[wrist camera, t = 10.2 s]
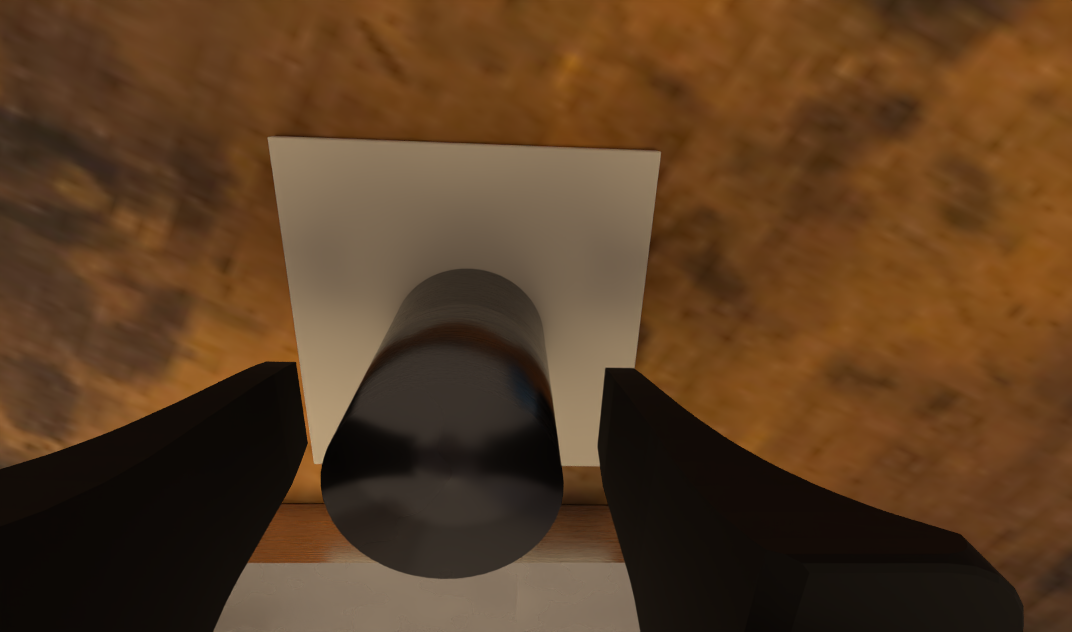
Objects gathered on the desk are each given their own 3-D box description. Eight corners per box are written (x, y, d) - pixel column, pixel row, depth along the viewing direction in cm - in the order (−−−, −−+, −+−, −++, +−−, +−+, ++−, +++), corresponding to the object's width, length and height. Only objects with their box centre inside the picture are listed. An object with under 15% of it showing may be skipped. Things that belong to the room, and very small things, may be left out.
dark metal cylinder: (550, 273, 15) (576, 392, 9) (537, 407, 17) (552, 581, 11) (392, 263, 15) (311, 378, 9) (394, 400, 17) (328, 575, 11)
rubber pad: (657, 150, 14) (661, 152, 14) (620, 458, 18) (622, 466, 18) (273, 135, 14) (267, 137, 14) (318, 456, 18) (314, 463, 17)
